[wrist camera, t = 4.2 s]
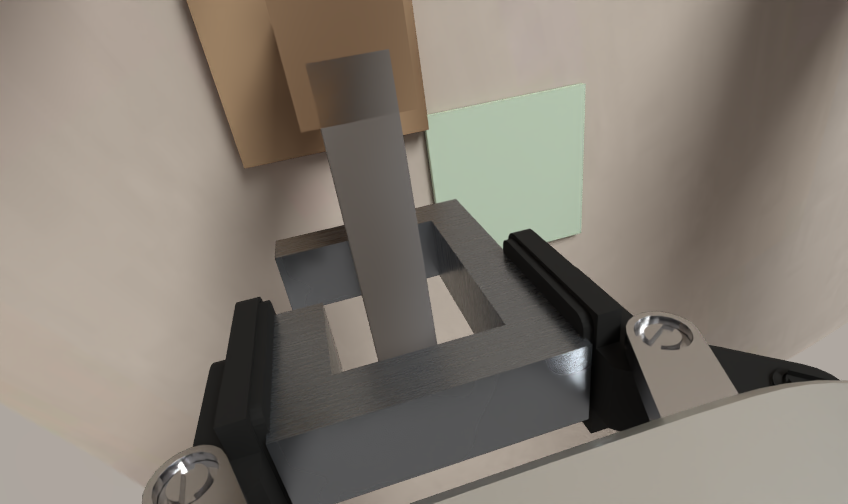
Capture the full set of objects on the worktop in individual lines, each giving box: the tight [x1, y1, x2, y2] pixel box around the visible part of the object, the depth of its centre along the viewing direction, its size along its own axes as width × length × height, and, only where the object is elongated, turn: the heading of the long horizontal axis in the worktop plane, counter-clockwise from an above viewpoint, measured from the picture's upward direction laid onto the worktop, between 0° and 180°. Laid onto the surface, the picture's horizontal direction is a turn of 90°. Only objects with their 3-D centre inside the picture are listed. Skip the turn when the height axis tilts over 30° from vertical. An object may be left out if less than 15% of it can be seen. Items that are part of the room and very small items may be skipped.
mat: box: [425, 83, 586, 249], centre depth 26 cm, size 9×9×1 cm
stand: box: [186, 0, 437, 362], centre depth 16 cm, size 9×12×14 cm
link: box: [266, 199, 592, 504], centre depth 12 cm, size 6×2×8 cm, turn 98°
